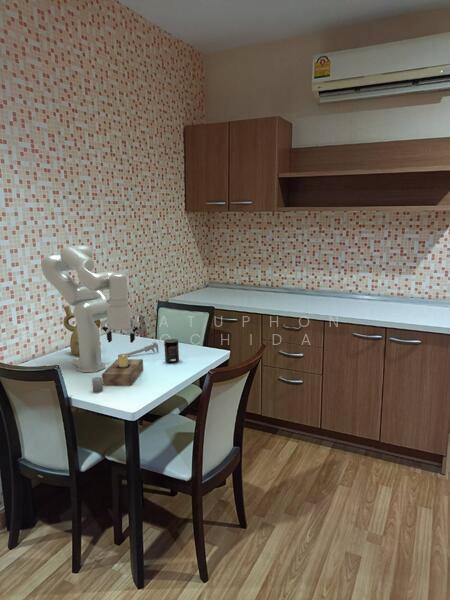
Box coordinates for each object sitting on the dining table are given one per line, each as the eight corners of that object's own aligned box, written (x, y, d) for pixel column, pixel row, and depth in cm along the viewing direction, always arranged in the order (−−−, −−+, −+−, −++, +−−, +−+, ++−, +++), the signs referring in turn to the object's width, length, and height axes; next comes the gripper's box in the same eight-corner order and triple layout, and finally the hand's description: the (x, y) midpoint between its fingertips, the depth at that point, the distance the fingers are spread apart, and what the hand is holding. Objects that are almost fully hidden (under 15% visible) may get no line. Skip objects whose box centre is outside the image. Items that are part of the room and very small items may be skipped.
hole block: (103, 385, 193) (102, 373, 192) (117, 369, 213) (116, 359, 212) (131, 385, 192) (130, 374, 191) (143, 369, 212) (142, 359, 211)
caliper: (158, 352, 239) (157, 340, 238) (158, 353, 238) (158, 341, 237) (118, 358, 231) (117, 346, 230) (118, 358, 230) (117, 346, 229)
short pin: (91, 392, 185) (90, 380, 184) (94, 389, 189) (94, 377, 188) (101, 392, 185) (100, 380, 184) (104, 389, 189) (103, 377, 188)
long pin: (118, 378, 201) (116, 356, 199) (121, 375, 205) (119, 353, 203) (127, 378, 200) (125, 356, 199) (129, 375, 204) (128, 353, 202)
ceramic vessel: (99, 356, 234) (95, 308, 229) (60, 357, 234) (56, 308, 230) (108, 347, 250) (104, 301, 246) (72, 348, 251) (68, 302, 246)
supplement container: (176, 358, 227) (175, 338, 225) (181, 362, 221) (180, 341, 219) (163, 360, 224) (162, 340, 223) (167, 364, 218) (166, 343, 216)
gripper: (96, 304, 194) (98, 343, 197) (136, 304, 192) (138, 344, 195) (102, 300, 201) (104, 339, 204) (141, 301, 200) (143, 339, 203)
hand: (121, 341), depth 200 cm, fingers open, 9 cm apart
